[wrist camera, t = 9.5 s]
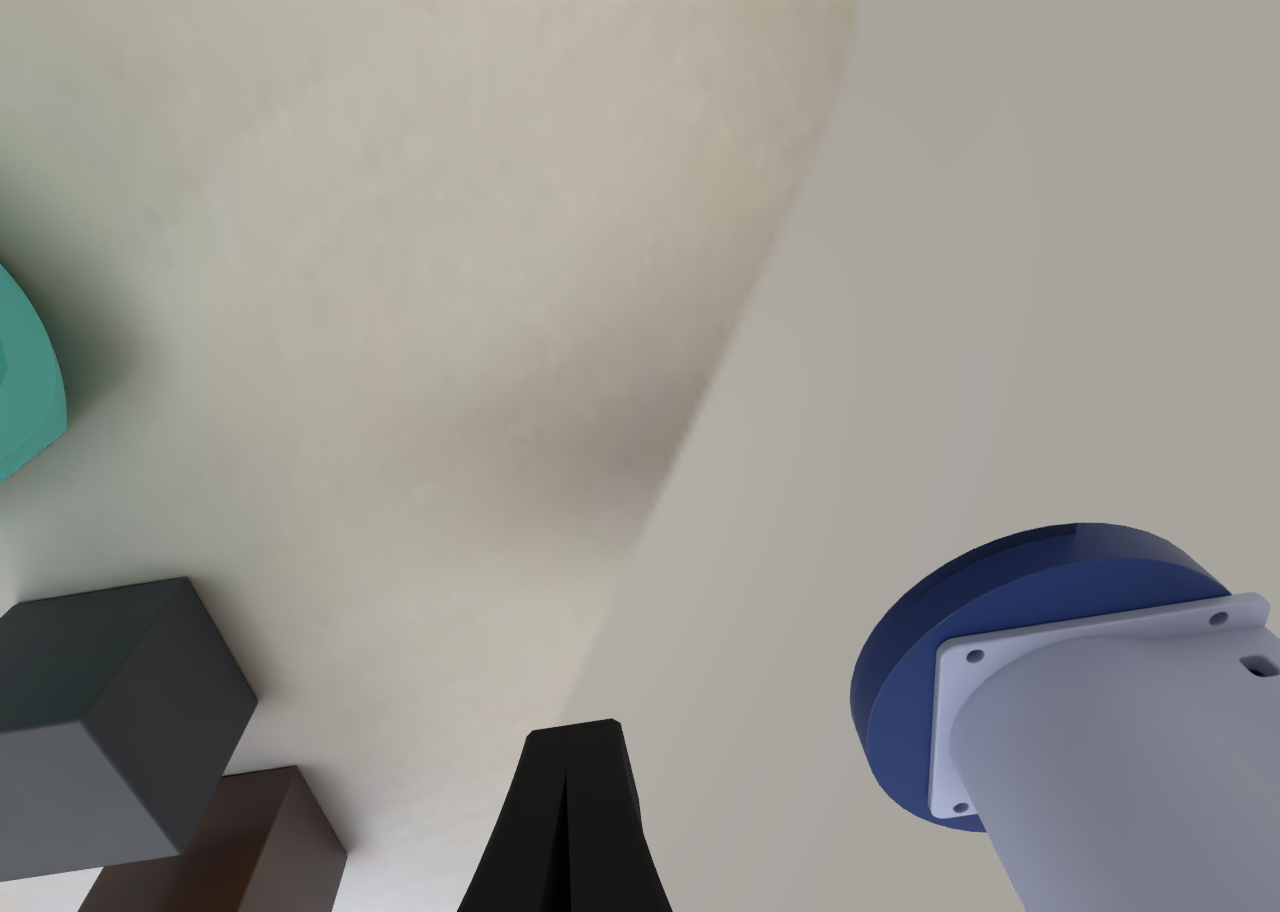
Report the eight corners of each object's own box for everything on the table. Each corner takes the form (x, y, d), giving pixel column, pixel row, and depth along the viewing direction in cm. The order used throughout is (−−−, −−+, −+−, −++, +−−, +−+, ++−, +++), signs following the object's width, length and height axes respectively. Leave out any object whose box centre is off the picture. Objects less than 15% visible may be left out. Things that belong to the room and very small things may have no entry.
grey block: (187, 575, 21) (80, 719, 16) (260, 701, 23) (183, 856, 19) (12, 603, 21) (-140, 754, 16) (103, 726, 23) (-9, 885, 19)
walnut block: (296, 765, 25) (233, 922, 20) (348, 856, 27) (302, 1013, 23) (149, 787, 25) (54, 948, 20) (214, 876, 27) (142, 1036, 23)
